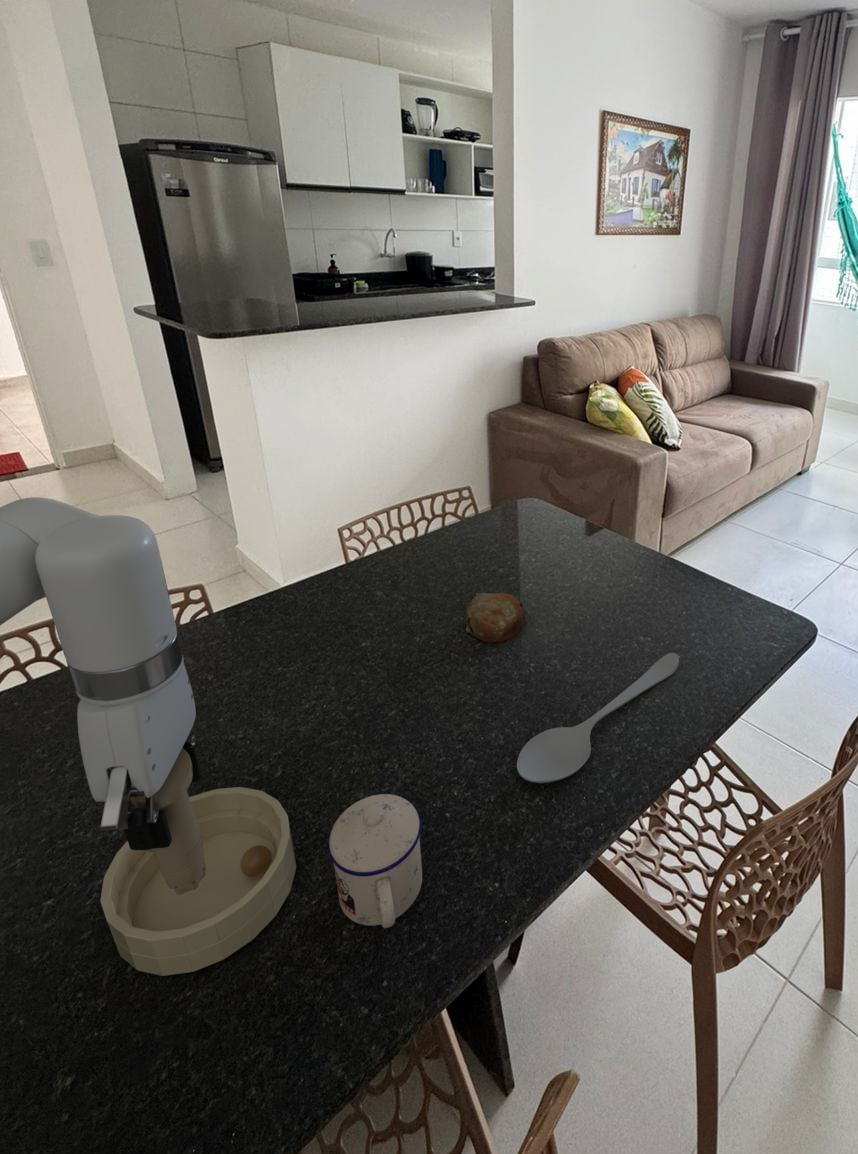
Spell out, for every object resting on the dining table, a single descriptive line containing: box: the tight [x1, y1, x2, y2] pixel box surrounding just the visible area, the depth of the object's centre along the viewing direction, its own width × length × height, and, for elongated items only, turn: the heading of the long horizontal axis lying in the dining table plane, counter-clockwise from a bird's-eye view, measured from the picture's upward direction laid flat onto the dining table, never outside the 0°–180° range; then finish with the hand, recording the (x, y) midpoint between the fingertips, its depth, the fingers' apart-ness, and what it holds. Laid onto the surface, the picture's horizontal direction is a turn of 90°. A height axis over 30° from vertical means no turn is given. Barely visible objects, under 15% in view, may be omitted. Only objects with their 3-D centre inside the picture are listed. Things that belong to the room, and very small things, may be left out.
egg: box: [240, 845, 272, 877], centre depth 72 cm, size 3×3×3 cm
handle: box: [131, 747, 206, 895], centre depth 63 cm, size 5×6×15 cm
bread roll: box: [465, 591, 526, 644], centre depth 114 cm, size 10×10×8 cm
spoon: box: [516, 652, 680, 784], centre depth 96 cm, size 35×8×3 cm, turn 140°
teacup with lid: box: [327, 793, 423, 929], centre depth 68 cm, size 12×9×12 cm
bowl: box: [99, 786, 297, 977], centre depth 69 cm, size 17×17×6 cm
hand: (168, 810), depth 62 cm, fingers closed on handle, 6 cm apart
